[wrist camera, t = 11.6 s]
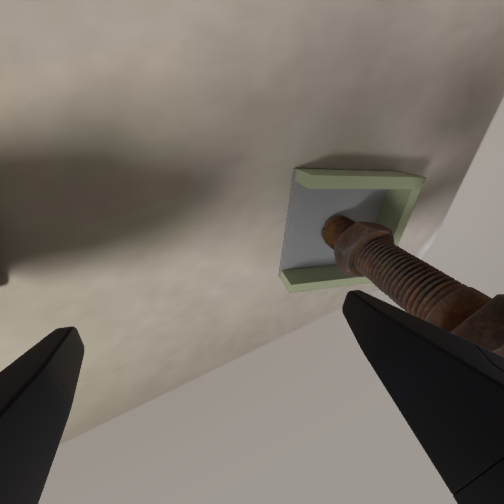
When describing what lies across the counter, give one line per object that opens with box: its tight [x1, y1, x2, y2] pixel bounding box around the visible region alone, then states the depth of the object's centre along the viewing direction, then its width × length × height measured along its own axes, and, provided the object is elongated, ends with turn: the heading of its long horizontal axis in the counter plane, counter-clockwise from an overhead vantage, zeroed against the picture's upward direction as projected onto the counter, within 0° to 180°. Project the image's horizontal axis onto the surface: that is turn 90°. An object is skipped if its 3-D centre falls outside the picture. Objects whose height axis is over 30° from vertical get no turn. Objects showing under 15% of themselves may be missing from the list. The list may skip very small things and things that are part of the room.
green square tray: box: [279, 168, 426, 293], centre depth 22 cm, size 11×11×3 cm
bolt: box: [321, 215, 504, 357], centre depth 17 cm, size 6×5×15 cm
